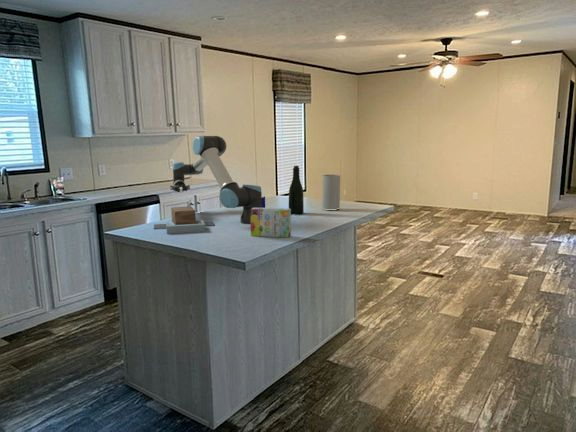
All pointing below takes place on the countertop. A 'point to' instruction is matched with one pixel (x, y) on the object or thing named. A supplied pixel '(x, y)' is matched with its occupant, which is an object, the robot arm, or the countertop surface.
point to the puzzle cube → (263, 201)
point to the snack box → (271, 222)
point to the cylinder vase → (331, 192)
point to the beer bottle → (296, 193)
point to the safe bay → (185, 228)
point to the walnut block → (183, 215)
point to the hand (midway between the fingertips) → (181, 190)
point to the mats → (163, 226)
